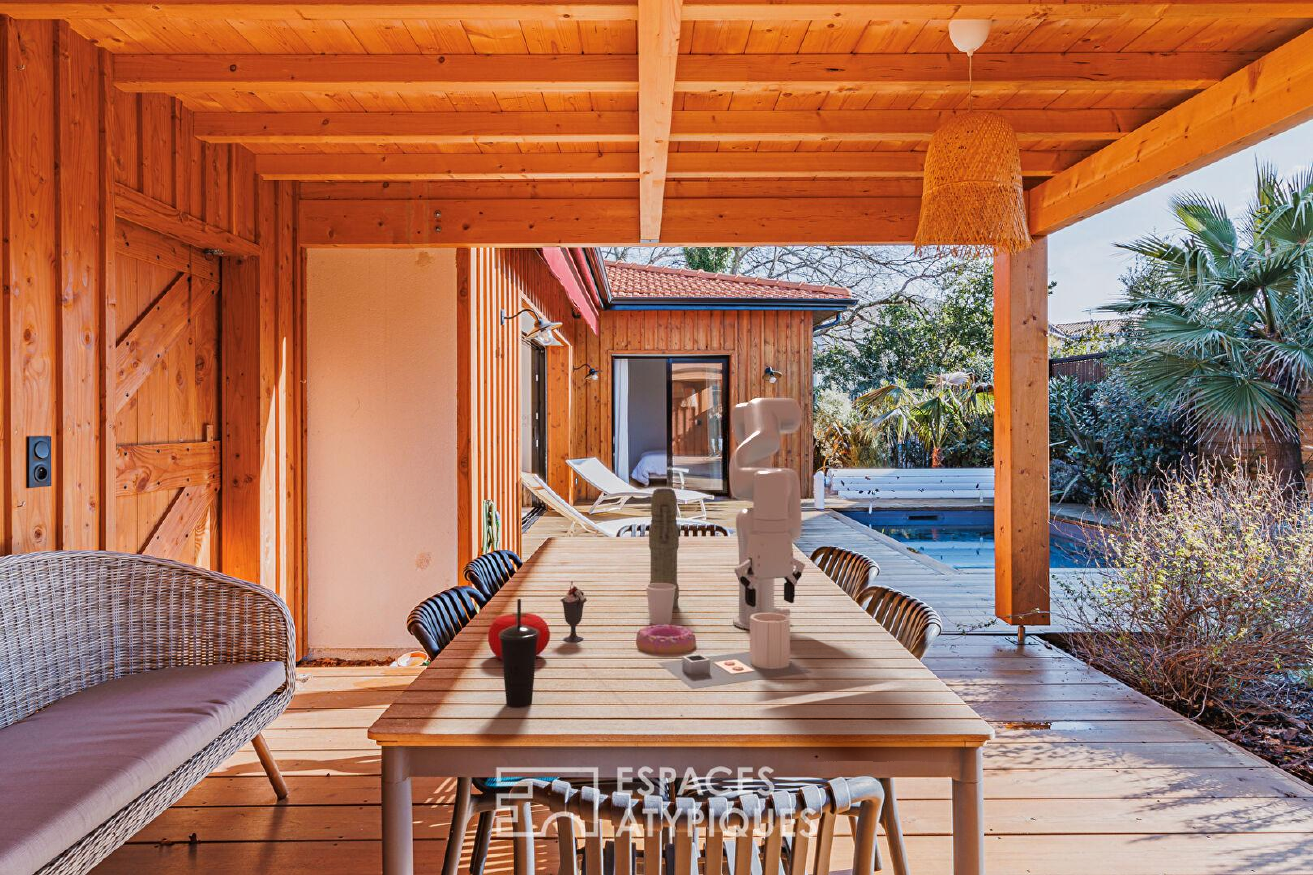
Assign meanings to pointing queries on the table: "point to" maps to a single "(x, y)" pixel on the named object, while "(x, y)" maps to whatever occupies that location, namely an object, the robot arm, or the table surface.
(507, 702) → the drinking cup
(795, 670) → the board
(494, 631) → the tomato
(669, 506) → the olive tall column
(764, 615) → the tube
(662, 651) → the donut
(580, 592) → the sundae
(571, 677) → the table surface
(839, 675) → the table surface
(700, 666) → the grey hollow block
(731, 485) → the robot arm
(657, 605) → the dixie cup
